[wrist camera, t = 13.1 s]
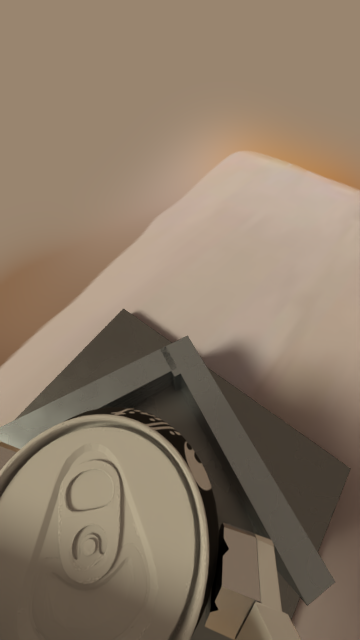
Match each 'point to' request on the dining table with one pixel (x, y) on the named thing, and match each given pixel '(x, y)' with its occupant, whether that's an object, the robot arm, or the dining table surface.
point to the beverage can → (106, 532)
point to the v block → (208, 444)
